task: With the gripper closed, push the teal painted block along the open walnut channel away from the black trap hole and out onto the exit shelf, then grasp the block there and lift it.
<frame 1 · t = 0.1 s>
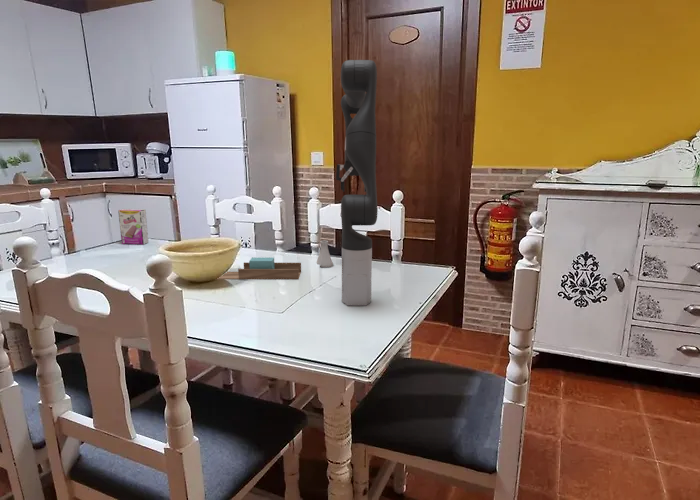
hand: (354, 191, 187), 29 cm above the table, fingers open, 8 cm apart
candy bar box: (135, 244, 228), on the table
trap channel: (269, 278, 173), on the table
teal block: (262, 275, 173), point 1 cm above the table, touching trap channel
flask: (324, 266, 191), on the table
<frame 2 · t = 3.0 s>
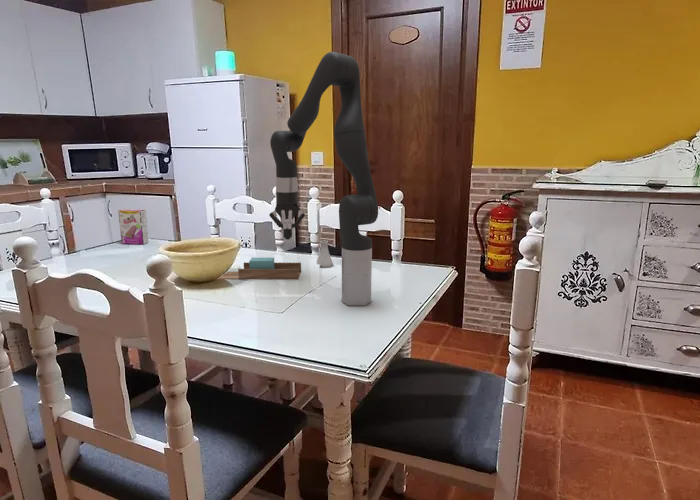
hand: (288, 238, 170), 15 cm above the table, fingers closed
nothing on the table moved.
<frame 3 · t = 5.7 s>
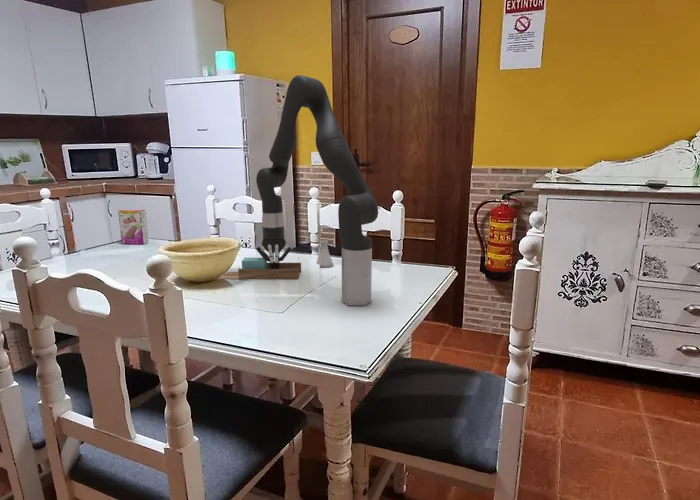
hand: (275, 272, 173), 2 cm above the table, fingers closed
teal block: (255, 275, 173), point 1 cm above the table, touching gripper, hand, trap channel
everything else where it was.
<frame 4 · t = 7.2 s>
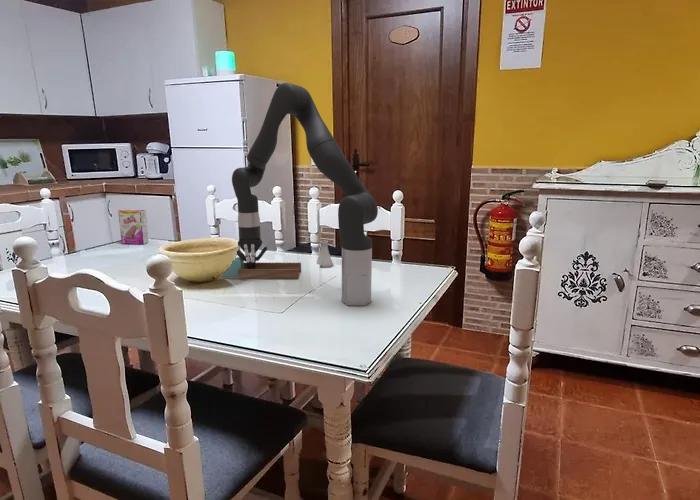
hand: (251, 271, 173), 2 cm above the table, fingers closed
teal block: (231, 275, 173), point 1 cm above the table, touching gripper, hand, trap channel
everything else where it was.
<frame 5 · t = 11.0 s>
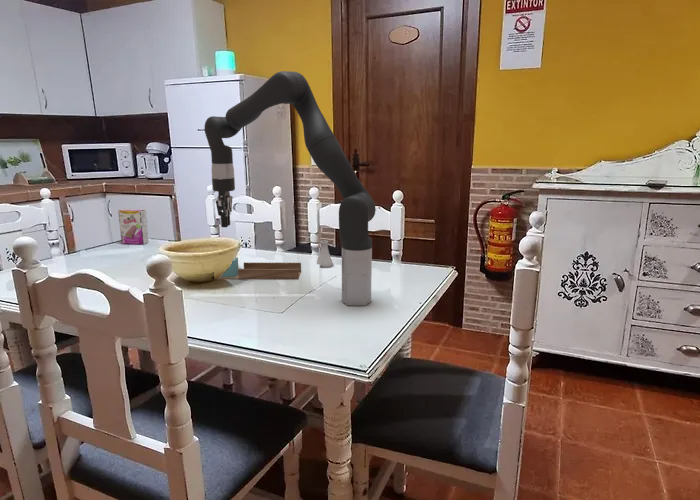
hand: (225, 226, 169), 19 cm above the table, fingers closed
teal block: (226, 275, 173), point 1 cm above the table, touching trap channel
everything else where it was.
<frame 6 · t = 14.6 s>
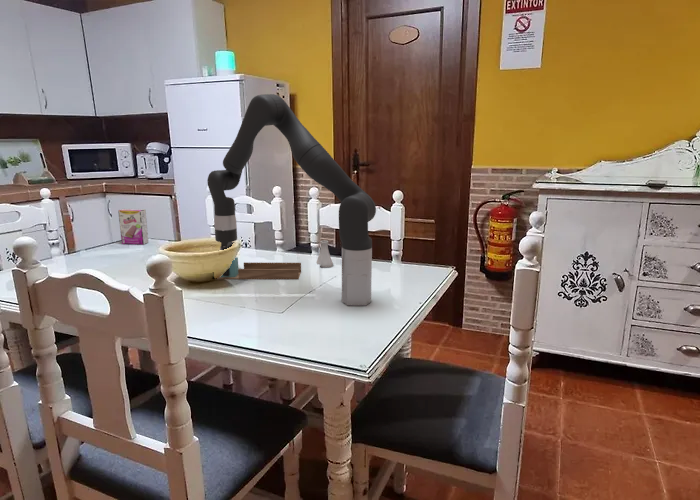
hand: (228, 273, 173), 2 cm above the table, fingers closed on teal block, 5 cm apart
teal block: (226, 275, 173), point 1 cm above the table, touching gripper, trap channel
everything else where it was.
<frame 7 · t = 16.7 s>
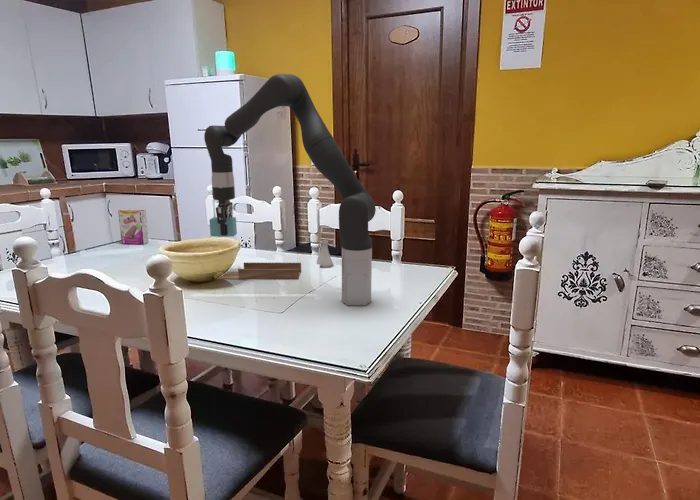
hand: (226, 233, 169), 17 cm above the table, fingers closed on teal block, 5 cm apart
teal block: (223, 235, 169), point 16 cm above the table, touching gripper
everything else where it was.
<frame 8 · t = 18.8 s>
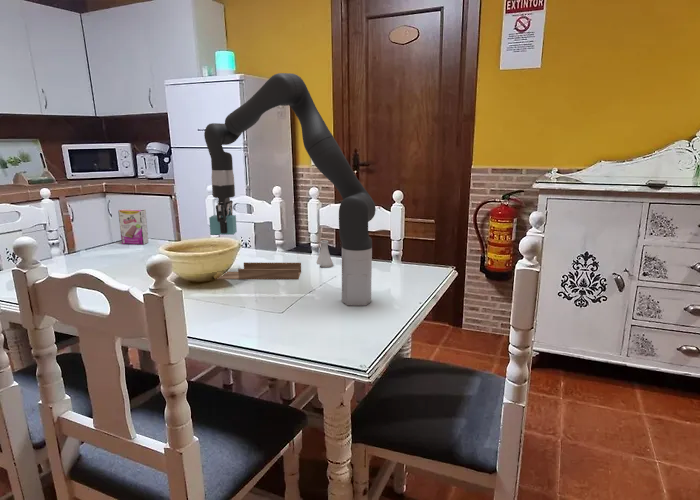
hand: (226, 231, 169), 17 cm above the table, fingers closed on teal block, 5 cm apart
teal block: (223, 233, 169), point 17 cm above the table, touching gripper
everything else where it was.
at the end: the gripper is holding teal block; teal block inside the target area (0.4 cm from its centre), point 16.7 cm above the table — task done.
